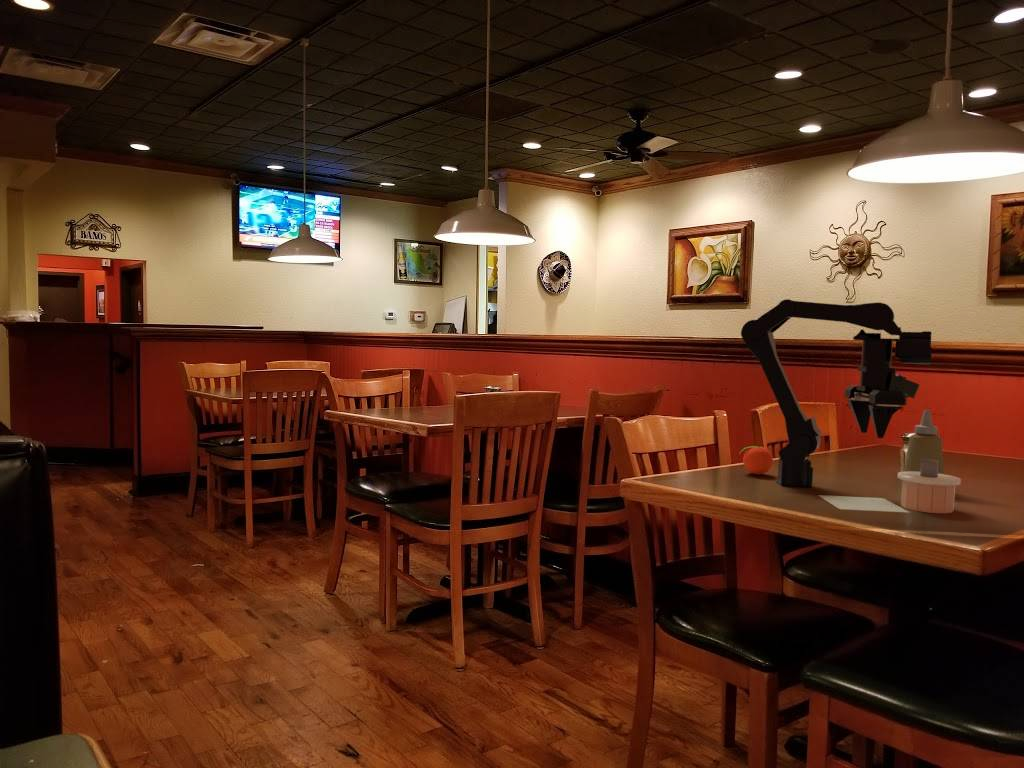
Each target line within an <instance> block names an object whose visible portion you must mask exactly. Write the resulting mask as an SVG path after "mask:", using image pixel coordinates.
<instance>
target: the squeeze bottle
mask: <svg viewBox="0 0 1024 768" xmlns="http://www.w3.org/2000/svg"><path fill="white" fill-rule="evenodd" d="M938 434H939V427H938V426H935V425H934V424H933V418H932V413H931V410H929V409H924V411H923V414H922V417H921V419H920V423H919V424H916V425H914V434H911V435H910V436H909V440H908V447H907V452H906V458H905V463H904V469H903V470H904V471H916V472H920V471H921V459H932V460H938V461H939V462H938V474H945V473H944V456H943V453H944V452H943V439H942V437H941V436H938ZM904 471H903V472H904Z"/></svg>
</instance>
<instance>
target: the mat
mask: <svg viewBox="0 0 1024 768" xmlns="http://www.w3.org/2000/svg"><path fill="white" fill-rule="evenodd" d="M818 496H819V497H820V498H821V499H822V500H825V501H826V502H828V503H829V504H831V505H832V506H834V507H835V508H837V509H838V510H840V511H841V510H842V511H843V510H845V511H864V512H866V511H867V512H883V513H884V512H886V513H888V512H889V513H905V514H906V513H907V514H910V513H911V512H910V511H909V510H907V509H906V508H905V509H904V507H902V506H898V505H897V504H894V503H893V502H891V501H889V500H887V499H886V498H884V497H882V498H881V497H868V496H867V497H863V496H845V495H844V496H840V495H822V494H821V495H818Z"/></svg>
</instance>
